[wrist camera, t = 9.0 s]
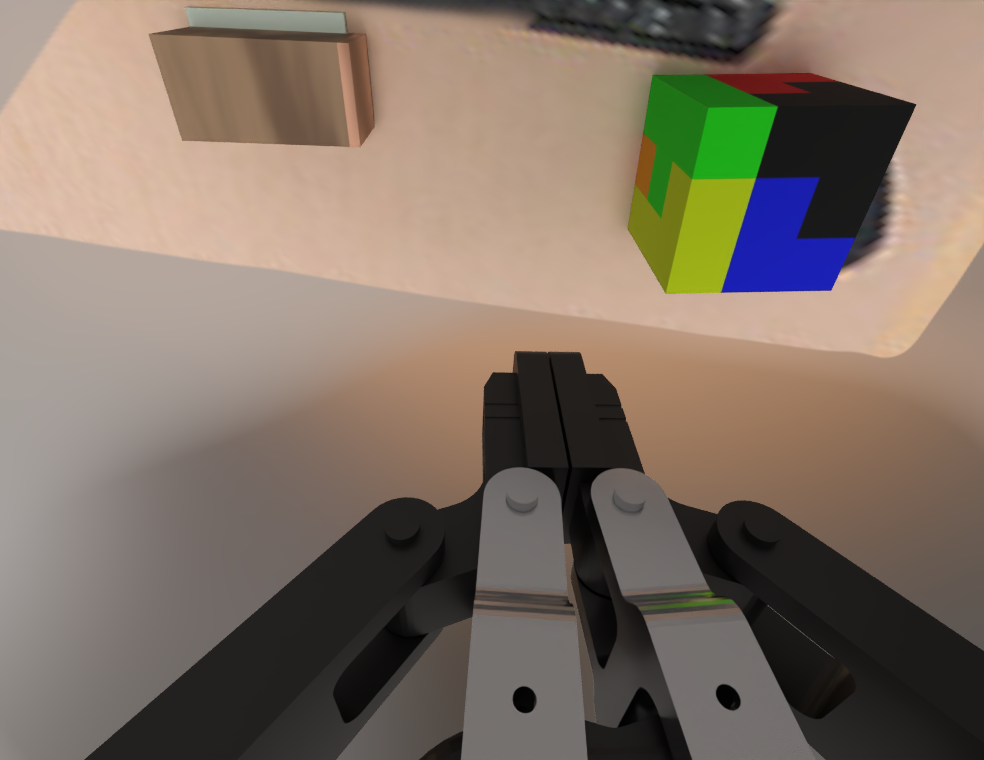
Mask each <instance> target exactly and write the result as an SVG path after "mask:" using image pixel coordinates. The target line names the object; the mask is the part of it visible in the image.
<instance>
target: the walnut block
mask: <svg viewBox="0 0 984 760" xmlns="http://www.w3.org/2000/svg"><path fill="white" fill-rule="evenodd" d="M149 37H150V40H151V43H152V46H153V49H154V53H155V56H156V59H157V62H158V65H159V68H160V72H161V75H162V78H163V81H164V84H165V87H166V91H167V94H168V97H169V100H170V103H171V106H172V109H173V113H174V116H175V119H176V122H177V125H178V128H179V132H180V135H181V138H182V141H209V142H236V143H263V144H290V145H316V146H343V147H361V145H362V144H363V143H364V141H365V140H366V138H367V137H368V135H369V134H370V132H371V131H372V130H373V128H374V118H373V107H372V97H371V86H370V76H369V65H368V55H367V45H366V34H346V33H324V32H302V31H281V30H259V29H237V28H216V27H194V26H192V27H186V28H181V29H175V30H169V31H164V32H158V33H152V34H149Z"/></svg>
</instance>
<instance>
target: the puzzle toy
mask: <svg viewBox="0 0 984 760" xmlns="http://www.w3.org/2000/svg"><path fill="white" fill-rule="evenodd" d="M915 106H916V104H913V103H910V102H907V101H903V100H900V99H896V98H893V97H890V96H886V95H883V94H880V93H876V92H873V91H869V90H866V89H863V88H859V87H856V86H852V85H849V84H846V83H842V82H839V81H835V80H832V79H829V78H825V77H822V76H818V75H815V74H812V73H784V74H717V75H653V77H652V83H651V89H650V95H649V101H648V107H647V114H646V120H645V126H644V132H643V138H642V144H641V151H640V157H639V163H638V169H637V175H636V181H635V187H634V194H633V200H632V206H631V212H630V218H629V224H628V230H629V232H630V234H631V235H632V237H633V239H634V240H635V242H636V244H637V246H638V247H639V249H640V251H641V252H642V254H643V256H644V257H645V259H646V261H647V263H648V264H649V266H650V268H651V269H652V271H653V273H654V274H655V276H656V278H657V280H658V281H659V283H660V285H661V286H662V288H663V290H664V291H665V293H666V294H675V293H727V292H779V291H831V290H832V288H833V286H834V283H835V281H836V279H837V277H838V275H839V272H840V270H841V268H842V266H843V264H844V262H845V259H846V257H847V255H848V253H849V251H850V248H851V246H852V244H853V242H854V240H855V238H856V235H857V233H858V231H859V229H860V227H861V224H862V222H863V220H864V218H865V216H866V213H867V211H868V209H869V207H870V205H871V203H872V200H873V198H874V196H875V194H876V192H877V189H878V187H879V185H880V183H881V181H882V179H883V176H884V174H885V172H886V170H887V168H888V165H889V163H890V161H891V159H892V157H893V154H894V152H895V150H896V148H897V146H898V144H899V141H900V139H901V137H902V135H903V133H904V130H905V128H906V126H907V124H908V122H909V120H910V117H911V115H912V113H913V111H914V109H915Z"/></svg>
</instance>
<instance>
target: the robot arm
mask: <svg viewBox="0 0 984 760" xmlns="http://www.w3.org/2000/svg"><path fill="white" fill-rule="evenodd" d="M482 431H483V432H482V443H483V445H482V449H483V483H482V485H481V487H480V488H479V489H478V491H477V492H476V493H475V494H474V495H472V496H471V497H470V498H468V499H467V500H465V501H463V502H461V503H458V504H455V505H452V506H449V507H445V508H442V509H439V510H437V509H436V508H435V507H433V506H432V505H431V504H429V503H428V502H426V501H423V500H421V499H416V498H406V497H405V498H397V499H393V500H390V501H387V502H385V503H383V504H381V505H379V506H378V507H377V508H375V509H374V510H373V511H372V512H370V513H369V514H368V515H367V516H366V517H365V518H364V519H362V520H361V521H360V522H359V523H358V524H357V525H355V526H354V527H353V528H352V529H351V530H350V531H349V532H347V533H346V534H345V535H344V536H343V537H342V538H340V539H339V540H338V541H337V542H336V543H335V544H333V545H332V546H331V547H330V548H329V549H328V550H326V551H325V552H324V553H323V554H322V555H321V556H320V557H318V558H317V559H316V560H315V561H314V562H313V563H311V564H310V565H309V566H308V567H307V568H306V569H305V570H303V571H302V572H301V573H300V574H299V575H298V576H296V577H295V578H294V579H293V580H292V581H291V582H289V583H288V584H287V585H286V586H285V587H284V588H283V589H281V590H280V591H279V592H278V593H277V594H276V595H274V596H273V597H272V598H271V599H270V600H269V601H267V602H266V603H265V604H264V605H263V606H262V607H261V608H259V609H258V610H257V611H256V612H255V613H254V614H252V615H251V616H250V617H249V618H248V619H247V620H245V621H244V622H243V623H242V624H241V625H240V626H239V627H237V628H236V629H235V630H234V631H233V632H232V633H231V634H229V635H228V636H227V637H226V638H225V639H224V640H222V641H221V642H220V643H219V644H218V645H217V646H215V647H214V648H213V649H212V650H211V651H210V652H208V653H207V654H206V655H205V656H204V657H203V658H202V659H200V660H199V661H198V662H197V663H196V664H195V665H194V666H192V667H191V668H190V669H189V670H188V671H186V672H185V673H184V674H183V675H182V676H181V677H180V678H178V679H177V680H176V681H175V682H174V683H173V684H172V685H170V686H169V687H168V688H167V689H166V690H165V691H164V692H162V693H161V694H160V695H159V696H158V697H157V698H155V699H154V700H153V701H152V702H151V703H149V704H148V705H147V706H146V707H145V708H144V709H142V711H140V712H139V713H138V714H137V715H136V716H134V717H133V718H132V719H131V720H130V721H129V722H127V723H126V724H125V725H124V726H123V727H122V728H120V729H119V730H118V731H117V732H116V733H115V734H113V735H112V736H111V737H110V738H109V739H108V740H107V741H105V742H104V743H103V744H102V745H101V746H100V747H99V748H97V749H96V750H95V751H94V752H93V753H92V754H90V755H89V756H88V757H87V758H86V759H85V760H336V759H337V758H338V756H339V755H340V754H341V753H342V752H343V750H344V749H345V748H346V747H347V746H348V744H349V743H350V742H351V741H352V739H353V738H354V737H355V736H356V735H357V733H358V732H359V731H360V730H361V729H362V727H363V726H364V725H365V724H366V723H367V721H368V720H369V719H370V718H371V717H372V715H373V714H374V713H375V712H376V711H377V709H378V708H379V707H380V705H381V704H382V703H383V702H384V701H385V700H386V698H387V697H388V696H389V695H390V694H391V692H392V691H393V690H394V689H395V687H396V686H397V685H398V684H399V683H400V681H401V680H402V679H403V678H404V677H405V675H406V674H407V673H408V672H409V671H410V669H411V668H412V667H413V666H414V664H415V663H416V662H417V661H418V660H419V658H420V657H421V656H422V655H423V654H424V652H425V651H426V650H427V649H428V647H429V646H430V645H431V644H432V643H433V642H434V640H435V639H436V638H437V636H438V635H439V634H440V633H441V631H442V630H443V628H444V627H445V626H448V625H451V624H454V623H457V622H459V621H462V620H465V619H467V618H470V617H473V620H472V632H471V644H470V656H469V669H468V680H467V693H466V705H465V718H464V729H463V731H462V732H459V733H457V734H455V735H453V736H451V737H450V738H448V739H446V740H444V741H442V742H441V743H439V744H438V745H437V746H435V747H434V748H432V749H431V750H430V751H428V752H427V753H426V754H425V755H424V756H423V757H422V758H421V759H419V760H816V759H815V757H814V755H813V753H812V751H811V749H810V747H809V745H810V746H812V747H813V748H814V749H815V750H816V751H817V752H818V753H819V754H820V755H821V756H822V757H824V758H825V759H826V760H984V651H983V650H981V649H980V648H978V647H977V646H975V645H974V644H972V643H971V642H969V641H968V640H966V639H965V638H964V637H962V636H961V635H959V634H958V633H956V632H955V631H953V630H952V629H950V628H948V627H947V626H946V625H944V624H943V623H941V622H940V621H938V620H937V619H935V618H934V617H932V616H931V615H929V614H928V613H926V612H925V611H924V610H922V609H921V608H919V607H918V606H916V605H915V604H913V603H912V602H910V601H909V600H907V599H906V598H904V597H903V596H901V595H900V594H898V593H897V592H895V591H894V590H892V589H891V588H889V587H888V586H887V585H885V584H884V583H882V582H881V581H879V580H878V579H876V578H875V577H873V576H871V575H870V574H869V573H867V572H866V571H864V570H863V569H861V568H860V567H858V566H857V565H855V564H854V563H852V562H851V561H849V560H848V559H847V558H845V557H843V556H842V555H840V554H839V553H838V552H836V551H835V550H833V549H832V548H830V547H829V546H827V545H826V544H824V543H823V542H821V541H820V540H818V539H817V538H815V537H814V536H812V535H811V534H810V533H808V532H806V531H805V530H803V529H802V528H801V527H799V526H798V525H796V524H795V523H793V522H792V521H790V520H789V519H787V518H786V517H784V516H783V515H781V514H780V513H778V512H777V511H775V510H773V509H772V508H770V507H767V506H765V505H763V504H760V503H756V502H752V501H734V502H731V503H729V504H726V505H725V506H723V507H722V508H721V510H720V511H719V513H718V514H715V513H711V512H708V511H704V510H700V509H696V508H693V507H689V506H686V505H683V504H680V503H677V502H675V501H673V500H671V499H669V498H667V496H666V494H665V493H664V490H663V489H662V488H661V487H660V485H659V484H658V483H657V482H656V481H654V480H653V479H651V478H650V477H649V476H647V475H645V473H644V470H643V467H642V464H641V461H640V458H639V455H638V452H637V450H636V447H635V444H634V441H633V438H632V435H631V432H630V429H629V426H628V423H627V422H626V417H625V414H624V411H623V409H622V408H621V402H620V399H619V396H618V393H617V390H616V388H615V387H614V386H613V385H612V384H611V383H610V382H609V381H608V380H607V379H606V378H605V377H604V376H603V374H586V370H585V367H584V363H583V359H582V356H581V353H580V352H548V353H547V352H530V351H515V354H514V364H513V373H495V372H493V373H492V375H491V376H490V378H489V380H488V381H487V383H486V384H485V386H484V403H483V429H482ZM564 544H571V547H572V553H573V559H574V560H573V564H572V568H571V575H570V578H571V584H572V588H573V592H574V596H575V600H576V605H577V609H578V613H579V617H580V622H581V626H582V630H583V634H584V639H585V643H586V647H587V651H588V655H589V660H590V664H591V668H592V673H593V680H594V708H595V717H596V723H597V724H596V723H592V722H589V721H585V720H584V709H583V696H582V684H581V671H580V659H579V646H578V633H577V622H576V615H575V610H574V607H573V604H572V603H569V600H568V594H567V580H566V567H565V552H564ZM767 605H769V606H770V607H771V608H772V609H774V610H775V611H776V612H777V613H779V614H780V615H781V616H782V617H784V618H785V619H786V620H787V621H789V622H790V623H791V624H792V625H794V626H795V627H796V628H798V629H799V630H800V631H801V632H803V633H804V634H805V635H806V636H808V637H809V638H810V639H811V640H813V641H814V642H815V643H816V644H818V645H819V646H820V647H821V648H823V649H824V650H825V651H826V652H828V653H829V654H830V655H831V656H830V655H829V654H827V653H826V652H825V651H824V650H822V649H821V648H820V647H819V646H817V645H816V644H815V643H814V642H812V641H811V640H810V639H809V638H807V637H806V636H805V635H803V634H802V633H801V632H800V631H799V630H797V629H796V628H794V627H793V626H792V625H791V624H790V623H788V622H787V621H786V620H785V619H783V618H782V617H781V616H780V615H778V614H777V613H776V612H775V611H773V610H772V609H771V608H770V607H768V606H767ZM832 656H833V657H834V658H833V657H832ZM808 744H809V745H808Z"/></svg>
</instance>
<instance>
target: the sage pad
mask: <svg viewBox="0 0 984 760" xmlns="http://www.w3.org/2000/svg"><path fill="white" fill-rule="evenodd" d="M185 11H186V14H187V18H188V21H189V25H190V27H192V26H194V27H216V28H237V29H259V30H281V31H302V32H324V33H346V34H347V26H346V18H345V13H344V12H314V11H285V10H255V9H225V8H196V7H185Z"/></svg>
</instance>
